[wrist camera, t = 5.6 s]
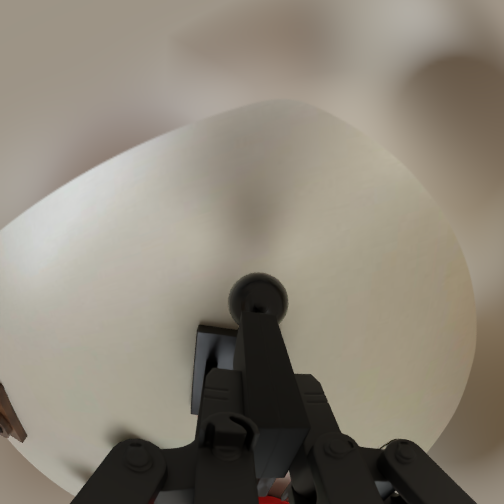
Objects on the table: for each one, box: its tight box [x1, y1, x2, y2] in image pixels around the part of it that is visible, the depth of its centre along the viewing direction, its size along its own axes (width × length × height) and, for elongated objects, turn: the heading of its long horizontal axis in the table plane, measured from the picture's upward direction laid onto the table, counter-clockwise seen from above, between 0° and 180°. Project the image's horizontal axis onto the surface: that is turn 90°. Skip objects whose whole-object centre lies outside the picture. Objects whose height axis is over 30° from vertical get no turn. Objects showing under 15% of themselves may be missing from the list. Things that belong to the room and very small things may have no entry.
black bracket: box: [191, 325, 276, 497], centre depth 18 cm, size 10×7×12 cm
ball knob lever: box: [228, 273, 288, 325], centre depth 14 cm, size 14×3×3 cm, turn 170°
